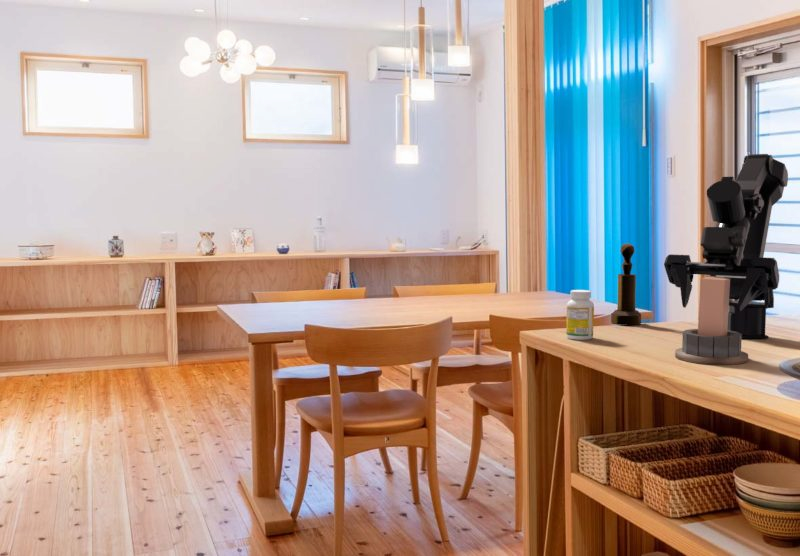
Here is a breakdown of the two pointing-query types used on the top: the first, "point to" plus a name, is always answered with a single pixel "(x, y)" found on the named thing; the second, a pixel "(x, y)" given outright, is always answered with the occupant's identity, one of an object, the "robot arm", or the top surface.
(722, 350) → the socket
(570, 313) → the supplement bottle
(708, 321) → the terracotta peg
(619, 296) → the dark wooden chess piece
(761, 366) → the top surface
